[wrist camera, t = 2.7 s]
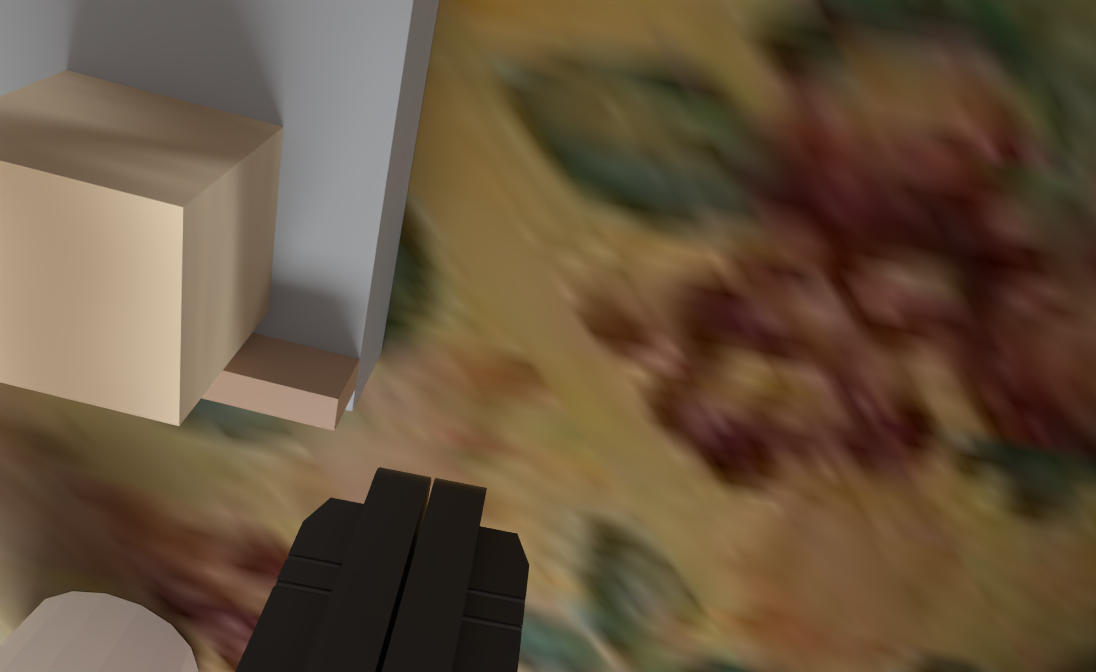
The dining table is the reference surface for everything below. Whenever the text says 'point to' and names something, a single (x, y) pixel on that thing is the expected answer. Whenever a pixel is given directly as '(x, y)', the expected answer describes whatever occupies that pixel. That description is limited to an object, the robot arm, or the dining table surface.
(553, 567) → the dining table surface
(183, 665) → the beige cylinder
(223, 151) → the birch block
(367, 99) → the trap box
